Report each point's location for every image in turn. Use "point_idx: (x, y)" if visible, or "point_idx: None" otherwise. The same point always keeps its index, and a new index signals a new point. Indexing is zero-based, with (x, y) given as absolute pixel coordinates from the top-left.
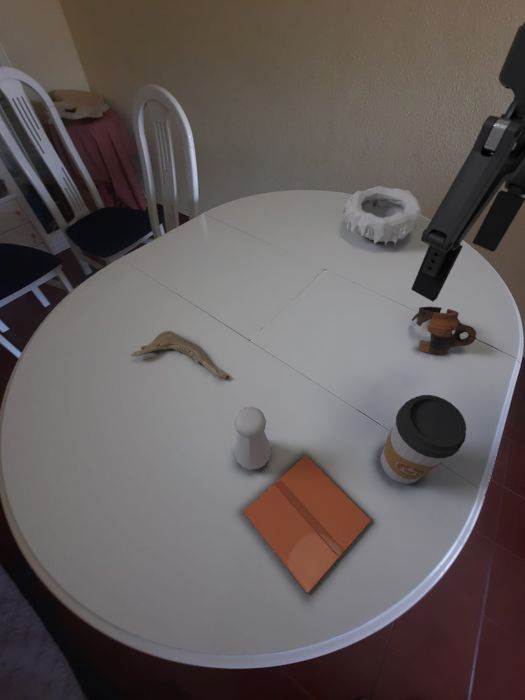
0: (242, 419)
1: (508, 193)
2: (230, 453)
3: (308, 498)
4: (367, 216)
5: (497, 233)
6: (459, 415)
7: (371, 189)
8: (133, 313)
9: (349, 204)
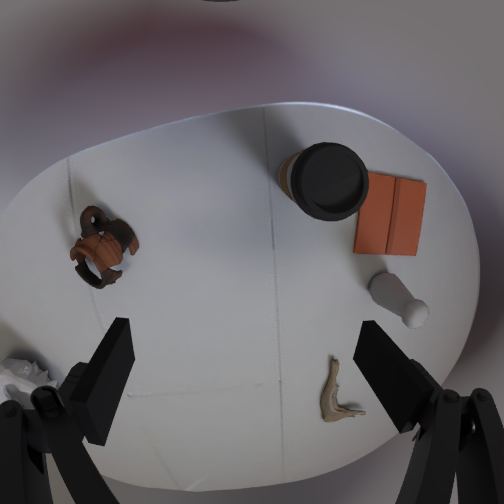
0: (423, 320)
1: (87, 431)
2: None
3: (383, 224)
4: None
5: (118, 351)
6: (311, 162)
7: None
8: (325, 444)
9: None
